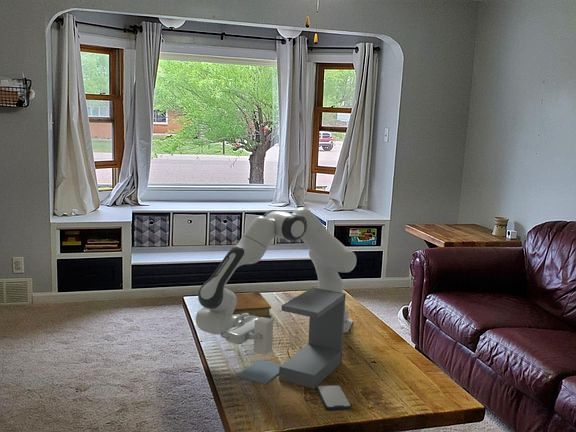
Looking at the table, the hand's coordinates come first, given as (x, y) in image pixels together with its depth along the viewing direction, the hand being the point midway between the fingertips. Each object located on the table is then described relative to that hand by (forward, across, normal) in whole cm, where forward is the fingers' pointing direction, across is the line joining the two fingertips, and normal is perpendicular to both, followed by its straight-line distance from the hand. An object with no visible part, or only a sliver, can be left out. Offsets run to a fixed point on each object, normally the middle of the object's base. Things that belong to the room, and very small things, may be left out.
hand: (265, 334), depth 206 cm
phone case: (+30, -5, +16) cm, 34 cm away
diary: (-42, +55, +16) cm, 71 cm away
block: (-1, 0, +7) cm, 7 cm away
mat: (-1, 0, +15) cm, 15 cm away
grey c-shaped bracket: (+14, +11, +15) cm, 23 cm away
